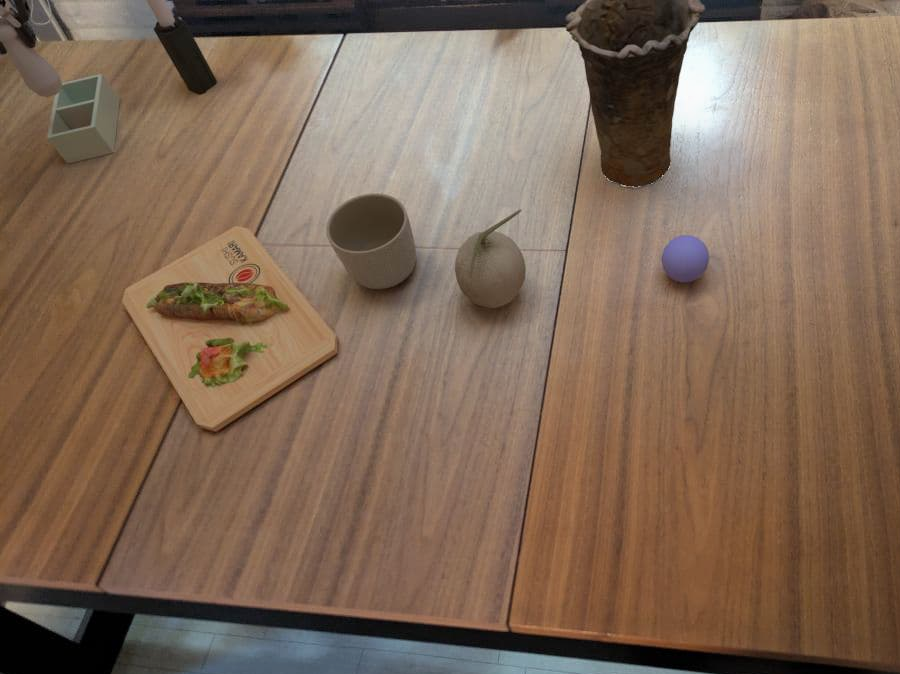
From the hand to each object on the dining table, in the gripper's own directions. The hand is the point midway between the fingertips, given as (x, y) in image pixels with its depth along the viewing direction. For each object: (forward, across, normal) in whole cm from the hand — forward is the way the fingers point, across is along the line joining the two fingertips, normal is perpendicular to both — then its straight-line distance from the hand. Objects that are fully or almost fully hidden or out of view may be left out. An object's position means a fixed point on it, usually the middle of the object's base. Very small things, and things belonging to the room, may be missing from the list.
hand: (18, 48), depth 123 cm
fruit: (+20, -69, +64) cm, 96 cm away
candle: (+20, -22, -11) cm, 32 cm away
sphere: (+20, -98, +69) cm, 122 cm away
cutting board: (+20, -27, +56) cm, 65 cm away
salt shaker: (+8, 0, 0) cm, 8 cm away
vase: (+20, -98, +42) cm, 109 cm away
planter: (+20, -53, +53) cm, 78 cm away
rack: (+20, 0, -4) cm, 21 cm away
